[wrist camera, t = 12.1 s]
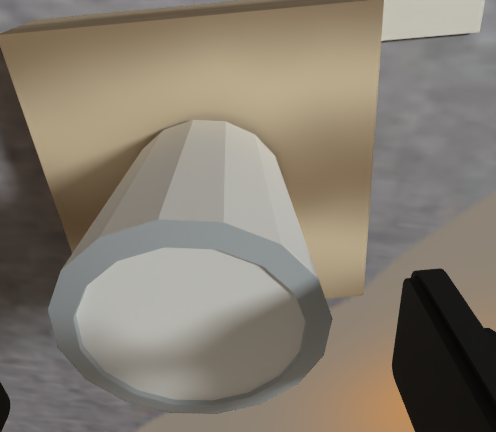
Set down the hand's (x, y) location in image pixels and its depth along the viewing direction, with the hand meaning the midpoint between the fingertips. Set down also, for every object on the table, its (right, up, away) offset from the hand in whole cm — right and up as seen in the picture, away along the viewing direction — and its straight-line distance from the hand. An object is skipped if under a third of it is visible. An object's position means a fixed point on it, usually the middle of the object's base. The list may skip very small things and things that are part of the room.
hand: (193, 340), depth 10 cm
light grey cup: (0, +4, +7) cm, 8 cm away
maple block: (0, +6, +10) cm, 12 cm away
